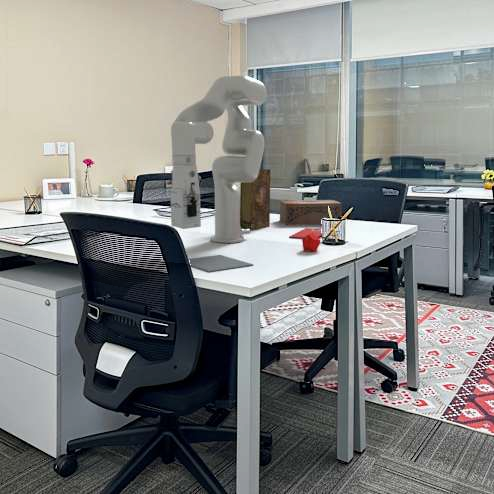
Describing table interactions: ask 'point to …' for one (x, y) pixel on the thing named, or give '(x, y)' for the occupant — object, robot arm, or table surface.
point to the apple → (310, 242)
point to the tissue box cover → (307, 211)
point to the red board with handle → (307, 233)
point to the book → (255, 202)
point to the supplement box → (183, 210)
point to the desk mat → (217, 263)
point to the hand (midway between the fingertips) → (185, 214)
